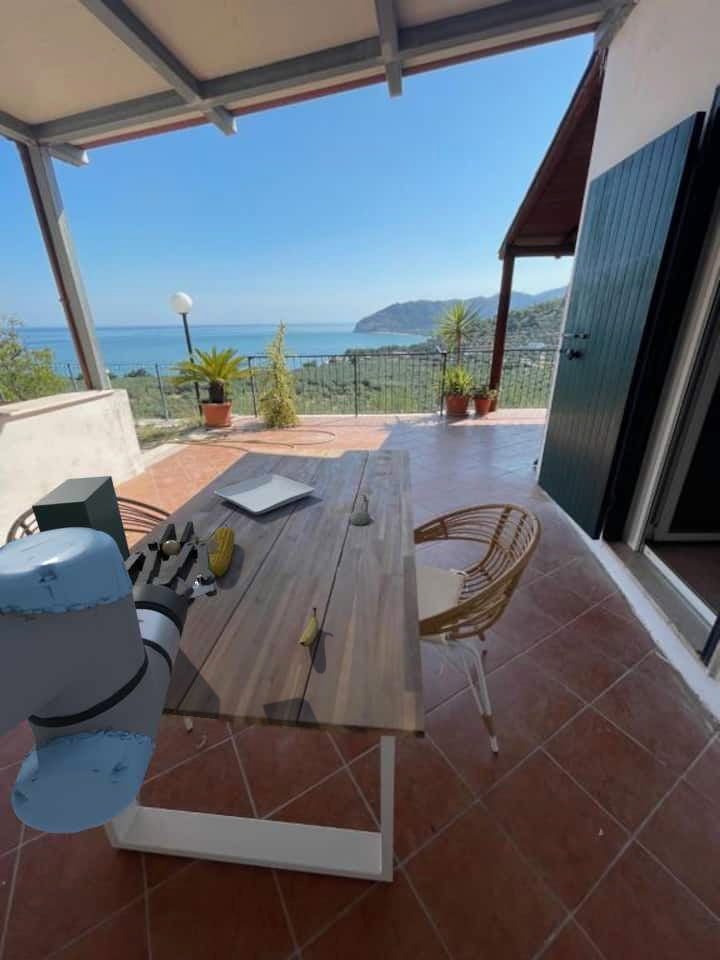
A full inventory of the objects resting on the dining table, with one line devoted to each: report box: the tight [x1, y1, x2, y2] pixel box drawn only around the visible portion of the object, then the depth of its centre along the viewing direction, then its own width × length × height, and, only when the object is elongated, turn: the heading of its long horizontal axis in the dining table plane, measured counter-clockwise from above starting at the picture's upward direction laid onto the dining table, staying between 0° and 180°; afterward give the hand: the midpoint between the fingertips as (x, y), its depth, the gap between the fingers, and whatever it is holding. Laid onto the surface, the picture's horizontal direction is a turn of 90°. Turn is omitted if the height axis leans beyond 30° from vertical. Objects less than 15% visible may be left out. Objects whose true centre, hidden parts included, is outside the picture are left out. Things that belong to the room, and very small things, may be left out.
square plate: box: [213, 473, 316, 516], centre depth 146 cm, size 27×27×4 cm
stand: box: [31, 475, 135, 585], centre depth 79 cm, size 8×14×30 cm, turn 14°
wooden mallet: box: [162, 538, 218, 558], centre depth 63 cm, size 6×24×2 cm, turn 14°
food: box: [209, 526, 235, 578], centre depth 105 cm, size 21×6×6 cm, turn 14°
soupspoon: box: [349, 494, 371, 526], centre depth 135 cm, size 22×3×7 cm
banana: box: [298, 607, 319, 647], centre depth 77 cm, size 10×2×4 cm, turn 172°
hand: (182, 530), depth 60 cm, fingers closed on wooden mallet, 2 cm apart
